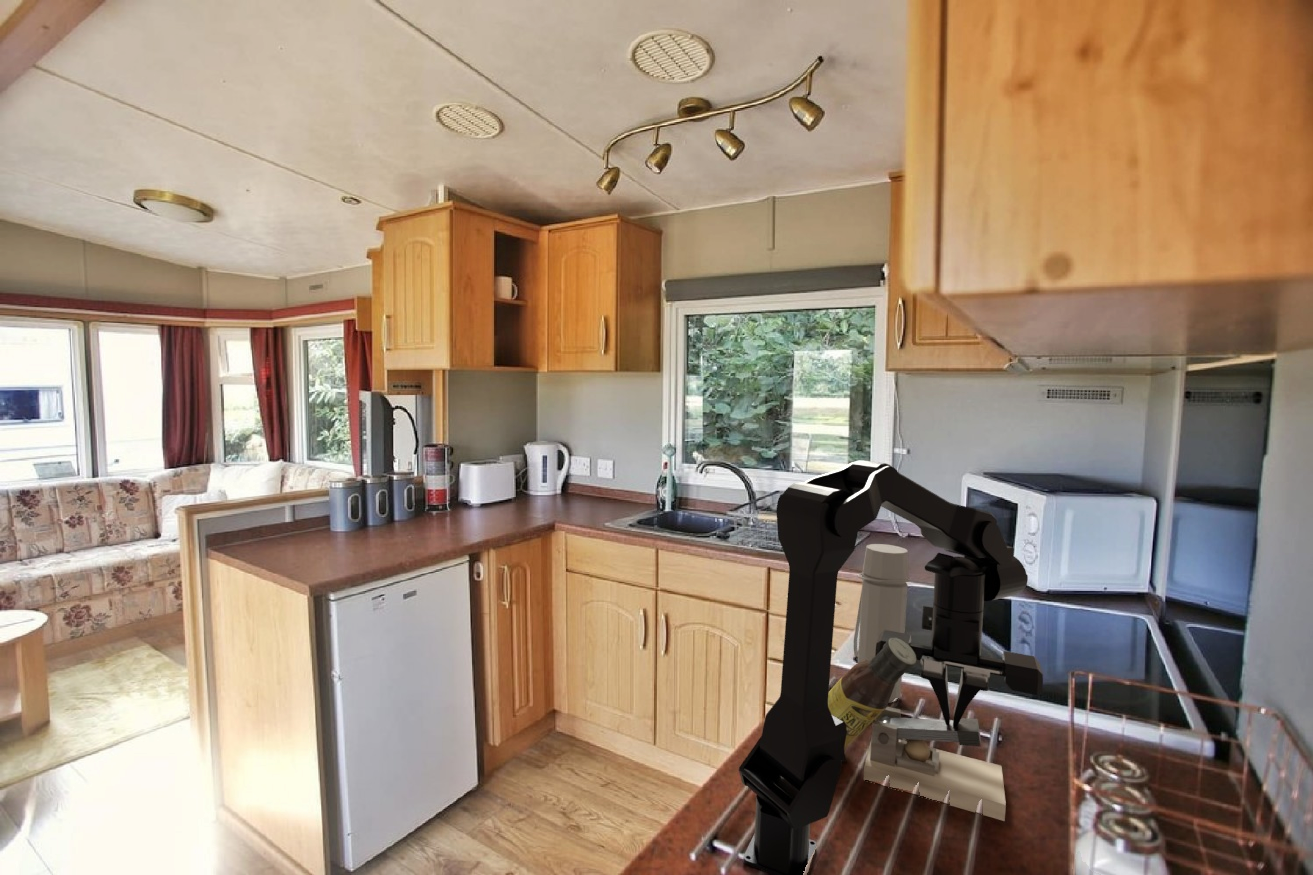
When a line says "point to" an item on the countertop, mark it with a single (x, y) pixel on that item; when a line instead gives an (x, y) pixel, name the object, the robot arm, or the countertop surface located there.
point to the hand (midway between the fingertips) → (951, 724)
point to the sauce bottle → (869, 687)
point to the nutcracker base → (934, 772)
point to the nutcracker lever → (937, 730)
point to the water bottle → (881, 600)
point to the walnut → (917, 750)
